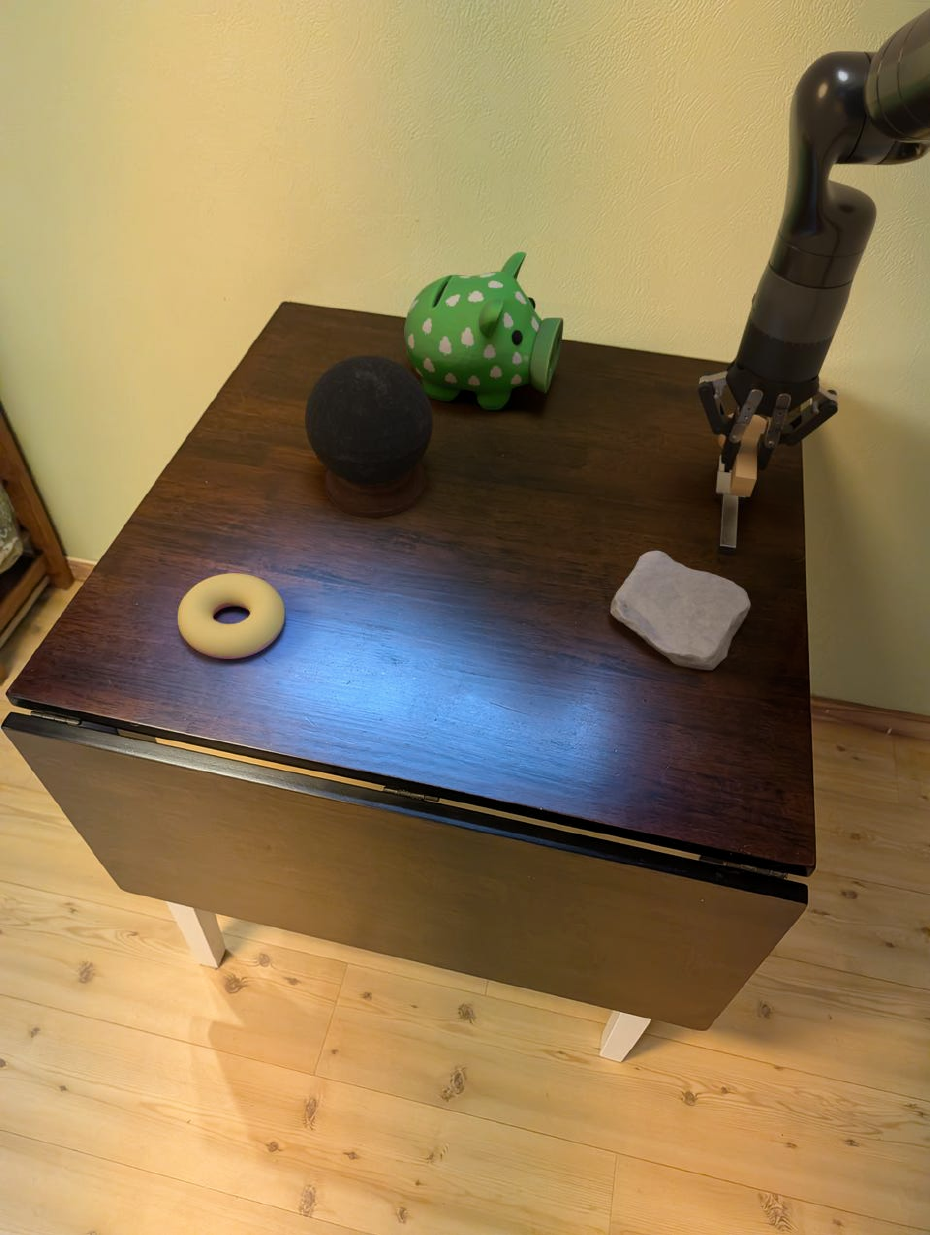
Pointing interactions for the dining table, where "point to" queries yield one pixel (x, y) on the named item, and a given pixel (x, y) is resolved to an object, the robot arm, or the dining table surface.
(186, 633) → the donut
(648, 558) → the stone block
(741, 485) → the wooden round paddle
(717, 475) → the fork
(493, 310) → the piggy bank
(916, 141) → the robot arm
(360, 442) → the black ball on stand
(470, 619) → the dining table surface
